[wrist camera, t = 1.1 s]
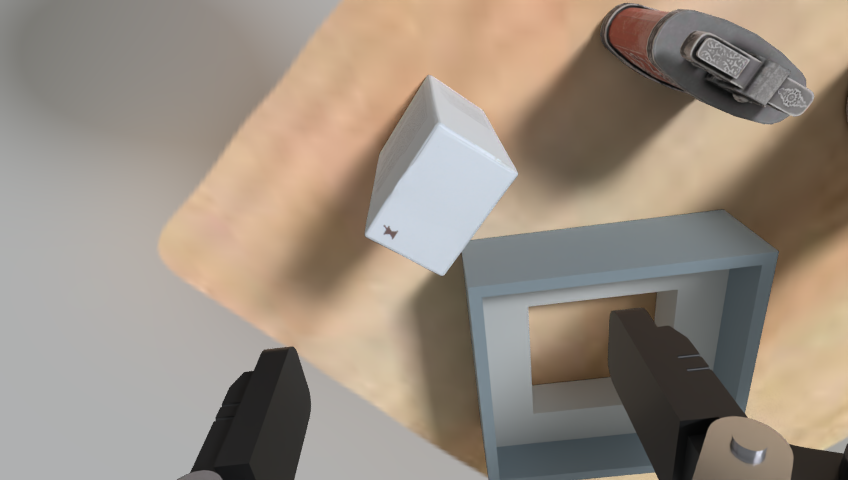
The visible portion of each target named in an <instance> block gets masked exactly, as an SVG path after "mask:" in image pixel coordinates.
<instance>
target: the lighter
mask: <svg viewBox="0 0 848 480" xmlns="http://www.w3.org/2000/svg"><path fill="white" fill-rule="evenodd" d="M600 37H601V42H602V43H603V45H604V46H605V47H606V48H607V49H608V50H609V51H610V52H611V53H612V54H613V55H615V56H616V57H617V58H618V59H619V60H620V61H621V62H623V63H624V64H625V65H627V66H628V67H630V68H631V69H633V70H635V71H636V72H638V73H639V74H641V75H642V76H644V77H646V78H648V79H650V80H653V81H655V82H657V83H660V84H662V85H664V86H666V87H669V88H671V89H673V90H677V91H681V92H684V93H688V94H690V95H691V96H693V97H694V98H696V99H697V100H699V101H701V102H703V103H706V104H708V105H710V106H713V107H715V108H717V109H719V110H722V111H724V112H726V113H729V114H731V115H733V116H736V117H740V118H743V119H747V120H751V121H754V122H758V123H762V124H774V123H777V122H780V121H782V120H784V119H785V118H787V117H788V116H790V115H791V116H799V115H801V114H803V113H804V112H805V111H806V110H807V108H808V107H809V106H810V105H811V103H812V101H813V99H814V94H813V92H812V91H811V90H810V89H808V88H806V79H805V77H804V75H803V73H802V72H801V71H800V70H799V69H798V68H797V67H796V66H795V65H794V64H793V63H792V62H791V61H790V60H789V59H788V58H787V57H786V56H785V55H784V54H783V53H782V52H780V51H779V50H778V49H776V48H775V47H774V46H772V45H771V44H769V43H768V42H767V41H765V40H764V39H762V38H761V37H760V36H758V35H757V34H755V33H753V32H751V31H749V30H747V29H745V28H742V27H740V26H738V25H736V24H734V23H732V22H730V21H728V20H725V19H722V18H718V17H715V16H712V15H708V14H705V13H702V12H698V11H695V10H685V9H678V10H675V11H672V12H664V11H659V10H656V9H653V8H649V7H646V6H642V5H639V4H634V3H623V4H620V5H617V6H616V7H615V8H613V9H612V10H611V11H610V12H609V13H608V14H607V16H606V17H605V18H604V21H603V23H602V25H601V31H600Z"/></svg>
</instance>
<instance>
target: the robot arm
mask: <svg viewBox="0 0 848 480" xmlns="http://www.w3.org/2000/svg"><path fill="white" fill-rule="evenodd" d="M846 112H847V122H848V99H847V106H846ZM608 367H609V372H610V376H611V380H612V383H613V385H614V387H615V389H616V391H617V393H618V396H619V398H620V400H621V402H622V404H623V406H624V408H625V410H626V412H627V414H628V416H629V418H630V421H631V423H632V425H633V427H634V429H635V431H636V433H637V435H638V437H639V439H640V441H641V443H642V446H643V448H644V450H645V452H646V454H647V456H648V458H649V460H650V462H651V464H652V466H653V469H654V471H655V473H656V475H657V477H658V479H659V480H848V444H847V446H846V449H845V451H844V454H842V453H836V452H829V451H823V450H817V449H810V448H804V447H799V446H794V445H791V444H788V442H787V441H786V440H785V439H784V438H783V437H782V436H781V435H780V434H779V433H778V432H777V431H775V430H774V429H772V428H771V427H769V426H767V425H765V424H763V423H761V422H759V421H756V420H753V419H750V418H748V417H747V416H746V415H745V413H744V412H743V411H742V409H741V408H740V407H739V405H738V404H737V403H736V401H735V400H734V399H733V397H732V396H731V395H730V393H729V392H728V391H727V389H726V388H725V387H724V385H723V384H722V383H721V381H720V380H719V379H718V377H717V376H716V375H715V373H714V372H713V371H712V370H710V369H709V365H708V364H707V363H706V361H705V360H704V359H703V357H700V353H699V352H698V351H697V349H696V348H695V347H694V345H693V344H692V343H691V341H690V340H689V339H688V338H687V337H686V336H684V335H683V334H681V333H680V332H678V331H677V330H675V329H674V328H672V327H671V326H660V327H657V325H656V324H655V323H654V321H653V320H652V318H651V317H650V315H649V314H648V312H647V311H646V310H645V309H644V308H634V309H625V310H616V311H612V312H611V313H610V319H609V343H608ZM310 412H311V399H310V392H309V388H308V385H307V382H306V379H305V376H304V373H303V370H302V366H301V363H300V360H299V357H298V353H297V351H296V349H295V348H294V347H284V348H275V349H267V350H264V351H262V353H261V355H260V357H259V360H258V362H257V365H256V367H255V369H254V371H249V372H244V373H243V374H242V375H241V376H240V377H239V378H238V379H237V380H236V381H235V382H234V383H233V384H232V386H231V387H230V388H229V390H228V392H227V394H226V396H225V399H224V401H223V403H222V407H221V408H220V410H219V412H218V414H217V416H216V421H214V422H213V425H212V427H211V429H210V431H209V433H208V435H207V438H206V440H205V442H204V444H203V446H202V449H201V451H200V453H199V455H198V457H197V459H196V461H195V464H194V466H193V468H192V470H191V472H190V473H189V474H187V475H184V476H183V477H181V478H179V479H177V480H294V478H295V473H296V470H297V465H298V462H299V458H300V453H301V450H302V446H303V442H304V438H305V434H306V430H307V425H308V421H309V417H310Z"/></svg>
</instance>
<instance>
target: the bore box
mask: <svg viewBox="0 0 848 480" xmlns="http://www.w3.org/2000/svg"><path fill="white" fill-rule="evenodd" d="M778 254H779V251H778V250H776V249H775V248H774V247H772V246H771V245H770V244H769V243H767V242H766V241H765V240H763V239H762V238H761V237H759V236H758V235H757V234H755V233H754V232H753V231H751V230H750V229H749V228H747V227H746V226H745V225H743V224H742V223H741V222H739V221H738V220H737V219H736V218H734V217H733V216H732V215H730V214H729V213H728V212H726V211H725V210H724V209H723V210H715V211H707V212H698V213H690V214H682V215H674V216H666V217H657V218H649V219H641V220H633V221H624V222H616V223H608V224H600V225H592V226H583V227H575V228H567V229H559V230H551V231H542V232H534V233H526V234H518V235H510V236H501V237H493V238H485V239H477V240H470V241H469V242H468V244H467V245H466V246H465V248H464V249H463V250H462V261H463V270H464V279H465V288H466V296H467V305H468V314H469V323H470V332H471V341H472V350H473V358H474V367H475V376H476V385H477V394H478V403H479V412H480V421H481V429H482V436H483V443H484V450H485V457H486V465H487V472H488V479H489V480H580V479H590V478H601V477H611V476H621V475H632V474H642V473H652V472H655V471H654V469H653V466H652V464H651V462H650V460H649V458H648V456H647V454H646V452H645V450H644V448H643V446H642V443H641V441H640V439H639V437H638V435H637V433H636V431H635V429H634V427H633V425H632V423H631V421H630V418H629V416H628V414H627V412H626V410H625V408H624V406H623V404H622V402H621V400H620V398H619V396H618V393H617V391H616V389H615V387H614V385H613V383H612V380H611V377H606V378H597V379H588V380H578V381H569V382H559V383H550V384H541V385H532V378H531V357H530V336H529V315H528V307H529V306H538V305H547V304H555V303H564V302H573V301H581V300H590V299H599V298H608V297H616V296H625V295H634V294H643V293H651V292H657V298H656V309H655V320H654V323H655V324H656V325H657V327H660V326H671V327H672V328H674V329H675V330H677V331H678V332H680V333H681V334H683V335H684V336H686V337H687V338H688V339H689V340H690V341H691V343H692V344H693V345H694V347H695V348H696V349H697V351H698V352H699V353H700V357H703V359H704V360H705V361H706V363H707V364H708V365H709V369H710V370H712V371H713V372H714V373H715V375H716V376H717V377H718V379H719V380H720V381H721V383H722V384H723V385H724V387H725V388H726V389H727V391H728V392H729V393H730V395H731V396H732V397H733V399H734V400H735V401H736V403H737V404H738V405H739V407H740V408H741V409H742V411H743V412H744V413H745V410H746V405H747V401H748V396H749V391H750V386H751V382H752V377H753V372H754V367H755V363H756V358H757V353H758V348H759V344H760V339H761V334H762V329H763V325H764V320H765V315H766V311H767V306H768V301H769V296H770V292H771V287H772V282H773V277H774V273H775V268H776V263H777V258H778Z"/></svg>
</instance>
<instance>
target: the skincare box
mask: <svg viewBox="0 0 848 480" xmlns="http://www.w3.org/2000/svg"><path fill="white" fill-rule="evenodd" d="M517 175H518V172H517V170H516V168H515V166H514V165H513V163H512V161H511V159H510V158H509V156H508V154H507V152H506V150H505V149H504V147H503V145H502V144H501V142H500V140H499V138H498V136H497V135H496V133H495V131H494V129H493V127H492V126H491V124H490V122H489V120H488V118H487V117H486V115H485V113H484V111H483V110H482V109H480V108H479V107H478V106H476V105H474V104H473V103H471V102H470V101H469V100H467V99H466V98H464V97H463V96H461V95H460V94H458V93H457V92H455V91H454V90H452V89H451V88H449V87H448V86H446V85H445V84H443V83H442V82H440V81H439V80H437V79H436V78H434V77H433V76H431V75H428V76H427V77H426V78H425V80H424V82H423V83H422V85H421V87H420V88H419V90H418V91H417V93H416V95H415V96H414V98H413V100H412V101H411V103H410V105H409V106H408V108H407V109H406V111H405V113H404V114H403V116H402V118H401V119H400V121H399V122H398V124H397V126H396V127H395V129H394V131H393V132H392V134H391V136H390V137H389V139H388V141H387V142H386V144H385V145H384V147H383V149H382V150H381V152H380V154H379V159H378V164H377V170H376V175H375V180H374V186H373V191H372V195H371V201H370V207H369V212H368V216H367V221H366V228H365V237H366V238H368V239H370V240H372V241H374V242H376V243H378V244H380V245H382V246H384V247H386V248H388V249H390V250H392V251H394V252H396V253H398V254H400V255H402V256H404V257H406V258H408V259H410V260H411V261H413V262H415V263H417V264H419V265H421V266H423V267H424V268H426V269H428V270H430V271H432V272H434V273H436V274H438V275H440V276H443V275H445V273H446V272H447V271H448V269H449V268H450V267H451V265H452V264H453V263H454V261H455V260H456V259H457V257H458V256H459V255H460V253H461V252H462V250H463V249H464V248H465V246H466V245H467V244H468V242H469V241H470V240H471V238H472V237H473V236H474V234H475V233H476V231H477V230H478V229H479V227H480V226H481V224H482V223H483V222H484V220H485V219H486V217H487V216H488V215H489V213H490V212H491V210H492V209H493V208H494V206H495V205H496V204H497V202H498V201H499V200H500V198H501V197H502V196H503V194H504V193H505V191H506V190H507V189H508V187H509V186H510V185H511V183H512V182H513V181H514V180H515V178H516V177H517Z"/></svg>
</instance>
